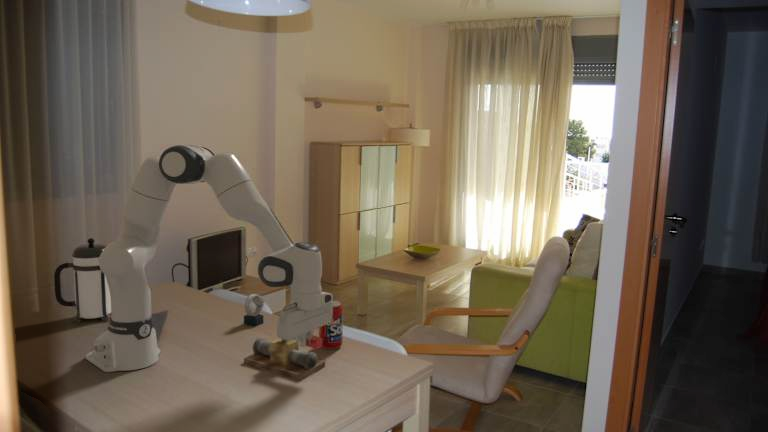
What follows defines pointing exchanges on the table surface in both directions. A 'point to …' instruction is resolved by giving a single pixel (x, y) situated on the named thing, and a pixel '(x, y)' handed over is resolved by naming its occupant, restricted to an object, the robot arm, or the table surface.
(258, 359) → the valve mount
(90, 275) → the coffee press
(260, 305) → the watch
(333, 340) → the soda can
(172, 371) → the table surface
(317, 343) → the valve lever
